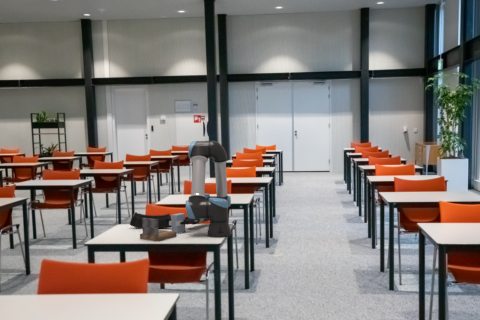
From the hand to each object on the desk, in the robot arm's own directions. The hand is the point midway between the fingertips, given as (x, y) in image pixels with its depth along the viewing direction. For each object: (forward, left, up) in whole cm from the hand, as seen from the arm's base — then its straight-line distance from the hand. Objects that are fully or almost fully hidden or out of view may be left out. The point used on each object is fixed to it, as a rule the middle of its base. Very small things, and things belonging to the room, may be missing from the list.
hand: (172, 223), depth 338 cm
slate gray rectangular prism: (0, -5, -7) cm, 8 cm away
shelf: (0, +14, -7) cm, 15 cm away
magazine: (+26, -6, -7) cm, 27 cm away
